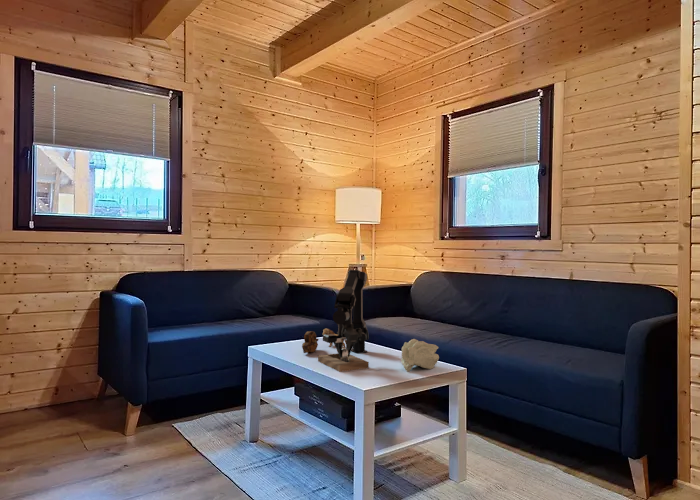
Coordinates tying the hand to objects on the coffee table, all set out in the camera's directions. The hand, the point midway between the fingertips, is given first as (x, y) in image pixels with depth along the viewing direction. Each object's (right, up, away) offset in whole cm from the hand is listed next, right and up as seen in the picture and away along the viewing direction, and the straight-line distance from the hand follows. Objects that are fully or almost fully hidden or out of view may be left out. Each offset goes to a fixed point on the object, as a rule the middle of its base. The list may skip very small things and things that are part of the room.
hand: (344, 357), depth 209 cm
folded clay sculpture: (+31, -5, -2) cm, 32 cm away
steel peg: (0, -3, 0) cm, 3 cm away
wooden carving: (-16, -3, +25) cm, 30 cm away
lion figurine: (-5, -4, +39) cm, 39 cm away
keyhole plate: (-1, -4, +1) cm, 4 cm away
